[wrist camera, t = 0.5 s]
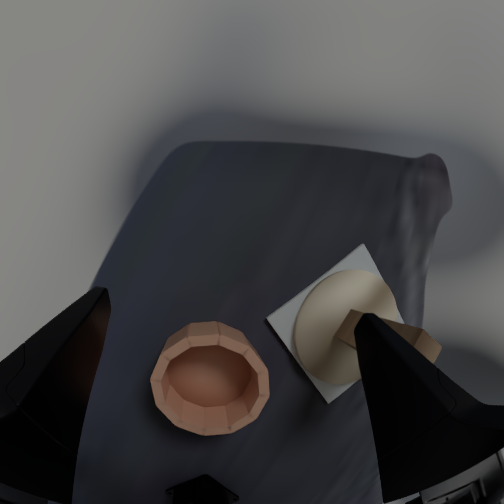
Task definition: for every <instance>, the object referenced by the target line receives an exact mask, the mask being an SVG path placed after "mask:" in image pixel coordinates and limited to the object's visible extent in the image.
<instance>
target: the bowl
mask: <svg viewBox="0 0 504 504" xmlns="http://www.w3.org/2000/svg"><path fill="white" fill-rule="evenodd" d="M150 381H151V386H152V390H153V395H154V399H155V403H156V405H157V407H158V408H159V409H160V410H161V411H162V412H163V414H164V415H165V416H166V417H167V418H168V419H169V420H170V421H171V422H172V423H173V424H174V425H176V426H177V427H180V428H183V429H185V430H188V431H191V432H194V433H197V434H200V435H203V434H204V436H206V435H219V434H229V433H232V432H235V431H237V430H239V429H240V428H242V427H244V426H245V425H247V424H249V423H250V422H252V421H254V420H255V418H257V417H258V415H259V414H260V412H261V410H262V408H263V407H264V405H265V403H266V401H267V400H268V398H269V379H268V370H267V368H266V366H265V364H264V363H263V361H262V360H261V358H260V356H259V355H258V353H257V351H256V350H255V349H254V348H253V346H252V345H251V344H250V342H249V341H248V340H247V338H246V337H245V335H244V334H243V333H242V332H241V331H239V330H236V329H234V328H232V327H229V326H227V325H225V324H223V323H220V322H217V321H213V322H200V323H190V324H188V325H186V326H185V327H183V328H182V329H181V330H179V331H178V332H176V333H175V334H173V335H172V336H170V337H169V338H168V339H167V342H166V344H165V346H164V348H163V350H162V352H161V355H160V357H159V359H158V362H157V364H156V366H155V369H154V371H153V373H152V376H151V378H150Z"/></svg>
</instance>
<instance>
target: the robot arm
mask: <svg viewBox="0 0 504 504" xmlns="http://www.w3.org/2000/svg"><path fill="white" fill-rule="evenodd" d="M110 313H111V304H110V299H109V293H108V290H107V288H104V287H98V286H96V287H94V288H93V289H91V290H90V291H88V292H87V293H86V294H84V295H83V296H82V297H81V298H79V299H78V300H76V301H75V302H74V303H73V304H71V305H70V306H69V307H67V308H66V309H65V310H64V311H62V312H61V313H60V314H58V315H57V316H56V317H54V318H53V319H52V320H51V321H49V322H48V323H47V324H46V325H45V326H43V327H42V328H41V329H40V330H39V331H37V332H36V333H35V334H33V335H32V336H31V337H30V338H29V339H28V340H26V341H25V343H23V344H21V345H20V346H19V347H18V348H17V349H16V350H14V351H13V352H12V353H11V354H10V355H8V356H7V357H6V358H5V359H3V360H2V361H1V362H0V504H48V500H49V501H53V502H56V503H60V504H72V493H73V483H74V475H75V468H76V461H77V454H78V448H79V442H80V437H81V432H82V427H83V422H84V418H85V413H86V409H87V405H88V401H89V397H90V393H91V389H92V385H93V382H94V378H95V375H96V371H97V368H98V364H99V361H100V358H101V354H102V350H103V346H104V341H105V336H106V331H107V327H108V322H109V318H110ZM354 338H355V344H356V351H357V358H358V364H359V370H360V374H361V379H362V383H363V387H364V391H365V396H366V400H367V405H368V410H369V415H370V420H371V425H372V430H373V435H374V441H375V447H376V453H377V459H378V466H379V473H380V480H381V488H382V496H383V502H384V504H385V503H388V502H392V501H395V500H397V499H401V498H404V497H407V496H409V495H412V494H415V493H418V492H419V494H420V496H418V497H417V498H415V499H413V500H411V501H409V502H406V503H405V504H504V406H503V405H487V404H483V403H481V402H479V401H478V400H477V399H475V398H474V397H473V396H471V395H470V394H469V393H467V392H466V391H465V390H464V389H462V388H461V387H460V386H459V385H457V384H456V383H454V382H453V381H452V380H451V379H450V378H449V377H448V376H446V375H445V374H444V373H443V372H442V371H441V370H440V369H438V368H437V367H436V366H435V365H434V364H433V363H432V362H431V361H429V360H428V359H427V358H426V357H425V356H424V355H423V354H421V353H420V352H419V351H418V350H417V349H416V348H415V347H413V346H412V345H411V344H410V343H409V342H408V341H406V340H405V339H404V338H403V337H402V336H401V335H399V334H398V333H397V332H396V331H395V330H393V329H392V328H391V327H390V326H389V325H388V324H386V323H385V322H384V321H383V320H382V319H380V318H379V317H378V316H377V315H376V314H374V313H364V314H363V315H362V316H361V318H360V320H359V321H358V323H357V325H356V326H355V328H354ZM166 494H167V495H169V496H170V497H172V498H173V504H232V503H234V502H236V501H238V500H239V496H237V495H236V494H234V493H233V492H231V491H230V490H228V489H227V488H226V487H224V486H223V485H221V484H220V483H219V482H217V481H216V480H214V479H213V478H212V477H210V476H209V475H202V476H200V477H197V478H195V479H192V480H190V481H188V482H185V483H183V484H180V485H177V486H175V487H172V488H169V489H167V490H166Z"/></svg>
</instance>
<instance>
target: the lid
mask: <svg viewBox="0 0 504 504" xmlns="http://www.w3.org/2000/svg"><path fill="white" fill-rule="evenodd" d="M364 313H374V314H376V315H377V316H378V317H379V318H380V319H382V320H383V321H384V322H385V323H386V324H388V325H389V326H390V327H391V328H392V329H393V330H395V331H396V332H397V333H398V334H399V335H401V336H402V337H403V338H404V339H405V340H406V341H408V342H409V343H410V344H411V345H412V346H413V347H415V348H416V349H417V350H418V351H419V352H420V353H421V354H423V355H424V356H425V357H426V358H427V359H428V360H429V361H431V362H432V363H434V361H435V360H436V358H437V356H438V354H439V352H440V350H441V348H442V347H441V346H440V345H439V344H438V343H437V342H436V341H435V340H434V339H433V338H432V337H431V336H430V335H429V334H428V333H427V332H426V331H425V330H424V329H421V328H417V327H413V326H410V325H406V324H402V323H399V322H397V319H398V315H397V306H396V302H395V299H394V296H393V294H392V292H391V290H390V289H389V287H388V286H387V284H386V283H385V282H384V281H383V280H382V279H381V278H379V277H378V276H376V275H375V274H373V273H370V272H368V271H363V270H343V271H339V272H336V273H333V274H331V275H329V276H327V277H326V278H324V279H323V280H321V281H320V282H319V283H318V284H316V286H315V287H314V288H313V289H312V290H311V291H310V292H309V293H308V295H307V296H306V298H305V299H304V301H303V303H302V304H301V307H300V309H299V311H298V314H297V317H296V321H295V327H294V344H295V349H296V352H297V355H298V358H299V360H300V361H301V363H302V365H303V366H304V367H305V368H306V369H307V370H308V371H309V372H310V373H311V374H312V375H313V376H314V377H316V378H317V379H319V380H321V381H323V382H326V383H330V384H346V383H351V382H354V381H357V380H359V379H361V374H360V370H359V364H358V358H357V351H356V344H355V338H354V328H355V326H356V325H357V323H358V321H359V320H360V318H361V316H362V315H363V314H364Z"/></svg>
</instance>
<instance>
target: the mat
mask: <svg viewBox="0 0 504 504" xmlns="http://www.w3.org/2000/svg"><path fill="white" fill-rule="evenodd" d="M343 270H363V271H368V272H370V273H373V274H375V275H376V276H378V277H379V278H381V279H382V277H381V275H380V273H379V271H378V269H377V267H376V265H375V263H374V262H373V260H372V258H371V256H370V254H369V252H368V251H367V249H366V247H365V245H364V244H361V245H360V246H358V247H357V248H356V249H355V250H354V251H352V252H351V253H350V254H349V255H347V256H346V257H345V258H344V259H342V260H341V261H340V262H339V263H338V264H336V265H335V266H334V267H332V268H331V269H330V270H329V271H327V272H326V273H325V274H324V275H322V276H321V277H320V278H318V279H317V280H316V281H315V282H313V283H312V284H311V285H309V286H308V287H307V288H305V289H304V290H303V291H302V292H300V293H299V294H298V295H296V296H295V297H294V298H292V299H291V300H290V301H288V302H287V303H285V304H284V305H283V306H281V307H280V308H279V309H277V310H276V311H275V312H273V313H272V314H270V315H269V316H268V317H266V318H267V320H268V321H269V323H270V324H271V326H272V327H273V328H274V330H275V331H276V333H277V334H278V335H279V337H280V338H281V340H282V341H283V342H284V344H285V345H286V347H287V348H288V349H289V351H290V352H291V354H292V355H293V356H294V358H295V359H296V361H297V362H298V363H299V365H300V366H301V367H302V369H303V370H304V372H305V373H306V374H307V376H308V377H309V378H310V380H311V381H312V382H313V384H314V385H315V387H316V388H317V389H318V391H319V392H320V393H321V395H322V396H323V397H324V399H325V400H326V401H327V403H328V404H329V403H330V402H331V401H333V400H334V399H335V398H336V397H338V396H339V395H340V394H342V393H343V392H344V391H345V390H346V389H348V388H349V387H350V386H351V385H352V384H354V383H355V382H356V381H354V382H351V383H346V384H330V383H326V382H323V381H321V380H319V379H317V378H316V377H314V376H313V375H312V374H311V373H310V372H309V371H308V370H307V369H306V368H305V367H304V366H303V365H302V363H301V361H300V360H299V358H298V355H297V352H296V349H295V344H294V327H295V321H296V317H297V314H298V311H299V309H300V307H301V304H302V303H303V301H304V299H305V298H306V296H307V295H308V293H309V292H310V291H311V290H312V289H313V288H314V287H315V286H316V284H318V283H319V282H320V281H321V280H323V279H324V278H326V277H327V276H329V275H331V274H333V273H336V272H339V271H343ZM382 280H383V279H382ZM397 315H398V319H397V322H399V323H402V324H404V322H403V320H402V318H401V316H400V314H399V311H398V309H397Z"/></svg>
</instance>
